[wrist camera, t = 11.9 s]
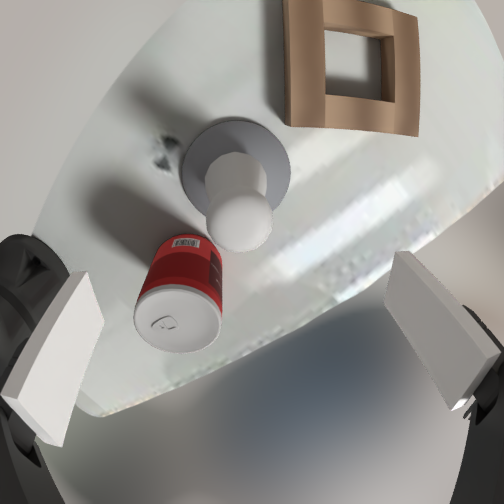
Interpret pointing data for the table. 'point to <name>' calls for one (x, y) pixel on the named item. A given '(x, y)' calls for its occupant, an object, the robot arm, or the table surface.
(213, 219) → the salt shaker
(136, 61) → the table surface
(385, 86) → the collar block
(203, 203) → the coaster
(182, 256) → the canned food
